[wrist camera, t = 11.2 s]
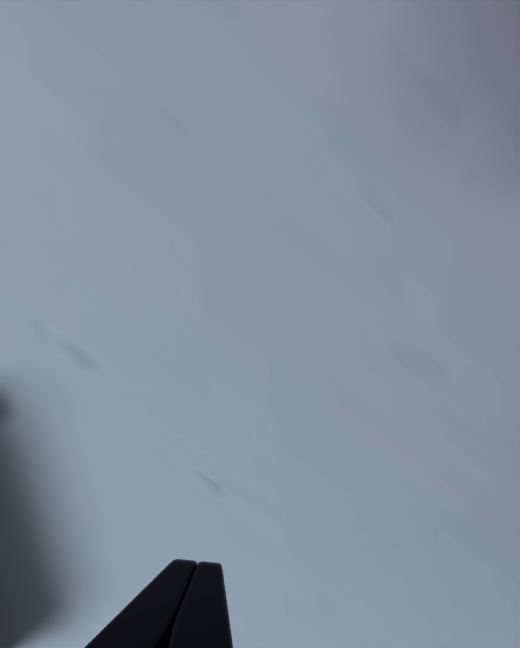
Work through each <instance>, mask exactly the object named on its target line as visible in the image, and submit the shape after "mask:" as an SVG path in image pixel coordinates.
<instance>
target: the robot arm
mask: <svg viewBox="0 0 520 648" xmlns="http://www.w3.org/2000/svg"><path fill="white" fill-rule="evenodd" d="M85 648H233V644H232V636H231V629H230V622H229V614H228V607H227V600H226V592H225V585H224V577H223V570H222V566H221V564H220V563H212V562H199V563H198V564H197V562H196V561H192V560H182V559H176V560H173V561H172V562H171V563H170V564H169V565H168V566H167V567H166V568H165V569H164V570H163V571H162V572H161V573H160V574H159V575H158V576H157V577H156V578H155V579H154V580H153V581H152V582H151V583H149V584H148V585H147V586H146V587H145V588H144V589H143V590H142V591H141V592H140V593H139V594H138V595H137V596H136V597H135V598H134V599H133V600H132V601H131V602H130V603H129V604H128V605H127V606H126V607H125V608H124V609H123V610H122V611H121V612H120V613H119V614H118V615H117V616H116V617H115V618H114V619H113V620H112V621H111V622H110V623H109V624H108V625H107V626H106V627H105V628H104V629H103V630H102V631H101V632H100V633H99V634H98V635H97V636H96V637H95V638H94V639H93V640H92V641H91V642H90V643H89V644H88V645H87V646H86V647H85Z"/></svg>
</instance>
